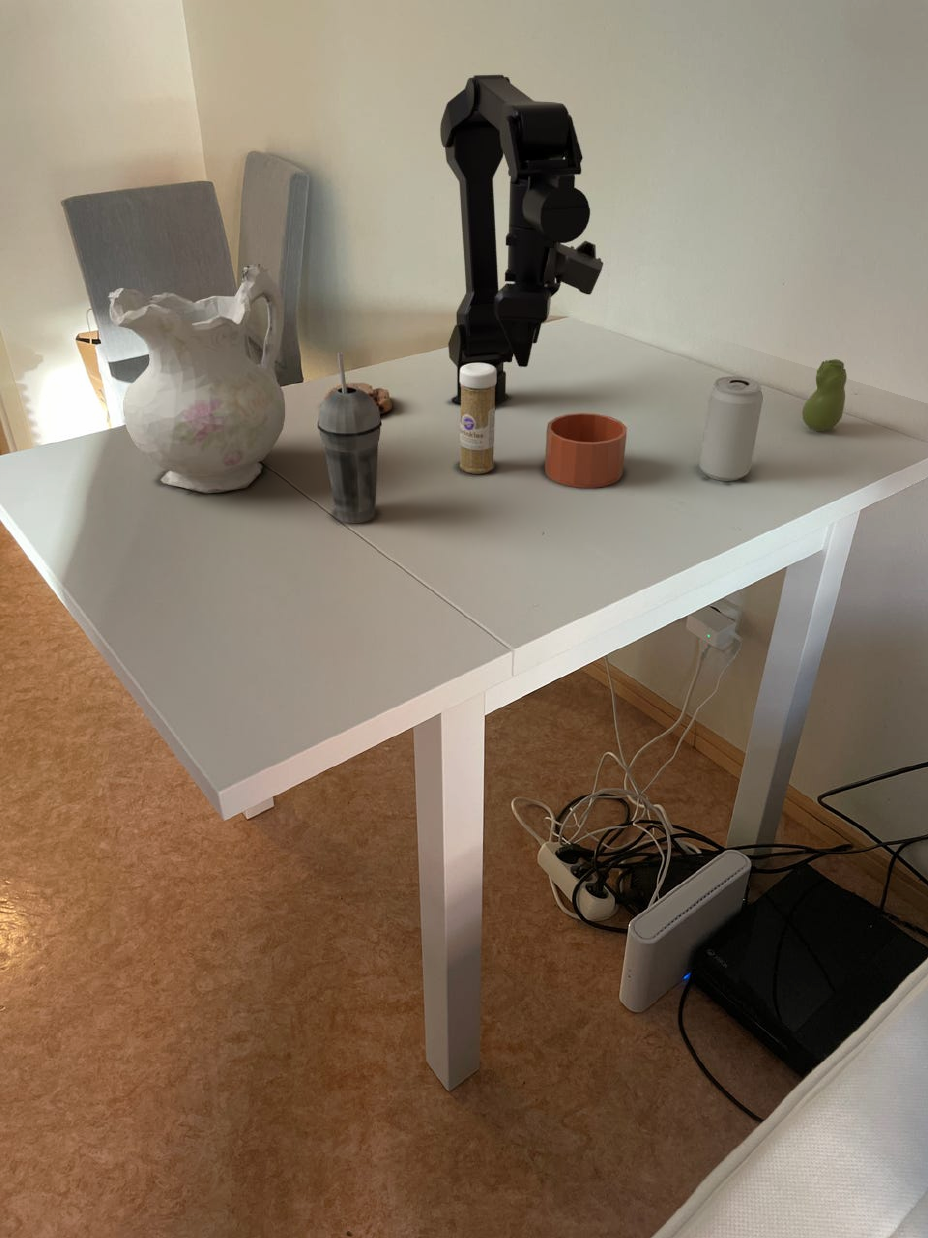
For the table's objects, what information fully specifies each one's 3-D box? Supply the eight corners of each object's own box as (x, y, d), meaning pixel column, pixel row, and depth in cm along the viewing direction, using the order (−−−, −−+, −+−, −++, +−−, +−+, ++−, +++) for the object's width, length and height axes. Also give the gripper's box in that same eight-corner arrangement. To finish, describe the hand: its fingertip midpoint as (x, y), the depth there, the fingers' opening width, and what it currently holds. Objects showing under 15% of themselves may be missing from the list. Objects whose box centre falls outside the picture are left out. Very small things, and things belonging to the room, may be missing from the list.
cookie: (337, 392, 149) (336, 373, 147) (402, 399, 146) (402, 380, 145) (312, 416, 141) (310, 396, 139) (380, 423, 138) (379, 403, 137)
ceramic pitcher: (237, 436, 137) (201, 253, 124) (339, 459, 127) (311, 262, 114) (112, 491, 123) (57, 290, 110) (216, 522, 112) (168, 305, 100)
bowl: (531, 476, 124) (533, 433, 120) (565, 449, 131) (568, 407, 127) (603, 494, 119) (607, 449, 116) (634, 465, 127) (638, 422, 123)
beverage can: (753, 467, 126) (769, 378, 119) (743, 487, 121) (759, 395, 115) (704, 458, 128) (718, 371, 122) (693, 477, 123) (706, 387, 117)
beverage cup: (395, 506, 117) (388, 342, 106) (371, 533, 111) (361, 363, 100) (341, 497, 119) (328, 336, 108) (314, 523, 113) (298, 356, 102)
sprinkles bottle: (454, 471, 125) (454, 371, 117) (467, 458, 128) (467, 359, 121) (487, 477, 124) (489, 375, 116) (499, 463, 127) (501, 363, 120)
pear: (833, 439, 134) (849, 369, 128) (794, 432, 136) (809, 362, 130) (842, 426, 138) (857, 357, 132) (804, 419, 140) (818, 351, 134)
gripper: (595, 245, 104) (585, 384, 113) (607, 210, 120) (597, 335, 128) (494, 240, 106) (492, 377, 115) (518, 207, 121) (514, 330, 130)
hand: (528, 354), depth 122 cm, fingers open, 9 cm apart
